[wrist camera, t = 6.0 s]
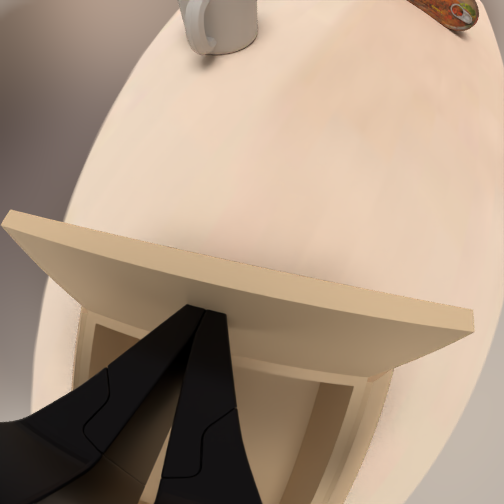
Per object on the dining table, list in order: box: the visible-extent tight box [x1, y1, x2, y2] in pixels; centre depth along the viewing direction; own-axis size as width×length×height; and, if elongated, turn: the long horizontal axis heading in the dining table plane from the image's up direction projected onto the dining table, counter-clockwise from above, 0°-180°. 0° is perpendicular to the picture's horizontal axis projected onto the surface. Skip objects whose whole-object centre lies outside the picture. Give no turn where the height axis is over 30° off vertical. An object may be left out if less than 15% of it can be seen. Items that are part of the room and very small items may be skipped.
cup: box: [178, 0, 258, 55], centre depth 20 cm, size 7×10×9 cm
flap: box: [1, 210, 474, 377], centre depth 9 cm, size 7×13×1 cm
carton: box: [71, 306, 394, 504], centre depth 14 cm, size 22×22×7 cm
